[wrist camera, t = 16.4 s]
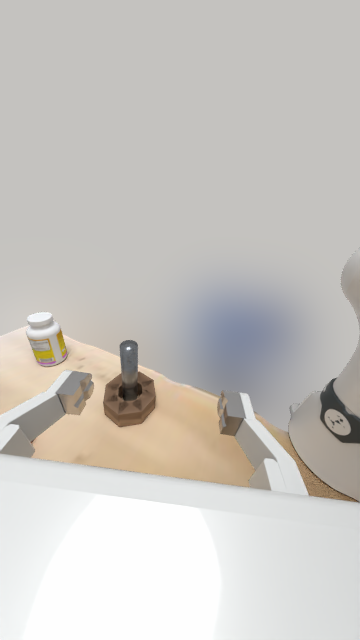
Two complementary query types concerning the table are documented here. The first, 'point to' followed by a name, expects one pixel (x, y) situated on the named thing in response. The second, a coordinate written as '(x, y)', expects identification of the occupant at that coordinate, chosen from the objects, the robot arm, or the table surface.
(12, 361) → the table surface
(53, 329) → the supplement bottle
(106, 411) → the bead
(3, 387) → the table surface
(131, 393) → the grey metal peg
